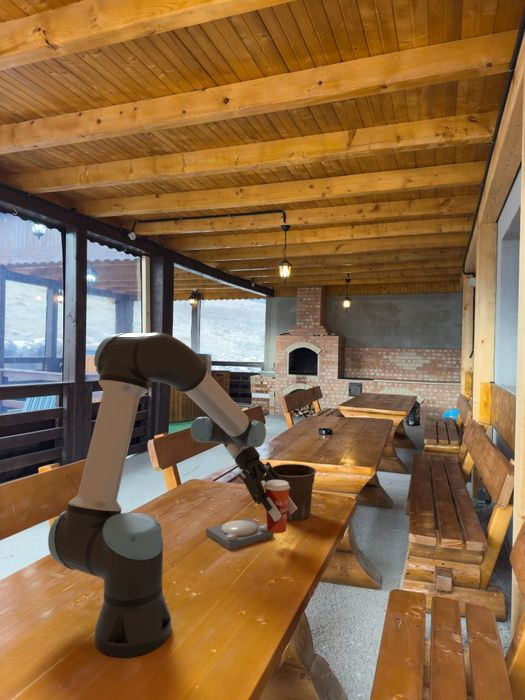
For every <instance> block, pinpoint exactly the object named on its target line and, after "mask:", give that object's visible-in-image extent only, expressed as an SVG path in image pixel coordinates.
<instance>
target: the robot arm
mask: <svg viewBox="0 0 525 700" xmlns="http://www.w3.org/2000/svg"><path fill="white" fill-rule="evenodd" d="M94 353H95V354H94V358H93V362H94V363H93V364H94V367H95V371H96V373H97V374H98V375H99V379H98V384H99V387H101V389H102V394H101V398H100V404H99V408H98V410H97V411H98V412H97V416H96V419H95V423H94V428H93V432H92V435H91V440H90V445H89V448H88V452H87V455H86V460H85V464H84V468H83V471H82V475H81V480H80V483H79V488H78V493H77V494H76V495H75V497H74V498H72V499H70V500H69V501H68V503H67V506H66V510H64V511H62V512H61V513H59V515H58V518H55V519H54V520H53V522H52V524H51V525H50V529H49V532H48V539H47V545H48V546H47V547H48V551H49V553H50V556H51V557H52V558H53V560H55V561H56V562H57V563H58V564H60V565H62V566H64V567H65V568H67V569H69V570H74V571H79V572H81V573H84V574H88V575H91V576H94V577H98V578H100V579H102V580H103V603H102V605H101V609H100V612H99V615H98V618H97V622H96V624H95V628H94V643H95V646H96V649H98V650H99V651H100V652H101V653H103V654H104V655H106V656H111V657H113V658H114V657H115V658H132V657H137V656H142V655H144V654H147V653H149V652H152V651H154V650H156V649H158V648H159V647H161V645H163V644H165V642H166V641H167V640H168V638H169V637H170V636H171V632H172V617H171V614H170V611H169V608H168V605H167V602H166V599H165V596H164V593H163V565H164V564H163V563H164V562H163V560H164V559H163V557H164V556H163V555H164V554H163V551H164V550H163V548H164V542H163V541H164V539H163V532H162V526H161V524H160V522H159V521H158V519H156V518H154V517H153V516H151V515H148V514H145V513H141V512H135V513H133V512H122V509H123V508H122V507H121V505H120V503H119V502H118V496H119V492H120V488H121V483H122V480H123V475H124V474H123V473H124V469H125V465H126V460H127V456H128V451H129V447H130V444H131V440H132V439H131V438H132V433H133V429H134V425H135V421H136V416H137V411H138V406H139V404H140V403H139V402H140V398H142V397H143V396H144V395H146V394H147V393H148V392H149V389H150V388H149V387H150V383H163V384H166V385H169V386H170V387H172V388H173V389H175V391H177V392H179V393H183V394H185V395H187V396H188V398H190V399H191V400H192V401H193V402H194V403H195V404H196V405H197V407H199V408H200V409H201V410H202V411H203V412H204V413H205V414H207V416H200V417H196V418H195V419H194V420H193V421H192V422H191V424H190V435H191V436H190V437H192V439H193V440H194V441H195V442H197V443H203V444H204V443H205V444H207V443H213V444H214V443H215V444H223V446H224V447H225V449H226V450H227V452H228V453H229V454H230V456H231V458H232V459H234V462H235V464H236V465H237V467H238V468H239V469H240V473H239V474H238V476H239V478H240V479H241V480H242V482H243V483H244V485H245V487H246V489H247V490H248V493H249V494H250V496H251V498H252V500H253V502H254V503H256V504H258V505H260V504H262V506H263V507H264V509H265V511H266V510H267V511H268V512H269V514H270V515H271V517H272V518H273V520H274V521H275V522H276V521H277V520H278V519H279V518H281V517H282V515H281V514H280V512H279V511H278V509H277V508H276V506H275V505H274V503H273V502H272V500H271V499H270V497H268V498H267V499H266V494H265V488H264V486H263V483H262V481H264V482H265V483H266V482H267V481H269V480H282V478H281V477H280V476H279V475H278V474H277V473H276V471H275V470H274V469H273V468H272V467H273V466H272V465H271V463H270V461H267V462H266V463H263V461H261V460H260V457H261V455H260V453H259V452H258V450H257V448H259V447H262V445H263V444H264V442H265V439H266V436H267V429H266V426H265V425H266V424H264V423H263V422H262V421H259V420H256V419H250V417H249V416H248V415H247V414H246V413H245V412H244V410H242V409H241V407H240V406H239V405H238V404H237V403H236V402H235V401H234V400H233V398H232V397H231V396H230V395H229V394H228V392H226V391H225V390H224V388H223V387H222V386H221V385H220V384H219V383H218V382H217V380H215V379H214V377H213V376H212V375H211V374H210V373H209V371H208V366H207V364H206V362H205V361H204V360H203V358H201V356H200V355H199V354H197V353H196V351H195V350H193V349H192V348H191V347H190V346H188V344H186V343H184V342H183V341H181V340H180V339H178V338H176V337H175V336H171V335H170V334H167V333H163V332H158V331H157V332H156V331H155V332H137V333H136V332H121V333H117V334H111V335H109V336H108V337H105V338H104V339H103V340H102V341H101V342H100V344H99V345H98V346H97V347H96V351H95V352H94ZM296 509H298V508H297V507H296V505H295V504H294V503H293V501H292V500H291V498H290V497H289V495H288V511H289V512H290V514H292V513H293V512H294V511H295V510H296Z"/></svg>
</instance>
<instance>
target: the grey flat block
mask: <svg viewBox="0 0 525 700" xmlns="http://www.w3.org/2000/svg"><path fill="white" fill-rule="evenodd" d="M205 535H206V536H208V537H209V538H210V539H212V540H214V541H215V542H216V543H218V544H219V545H221V546H222V547H225V549H227V550H229V551H231V550H234V549H237V548H240V547H244V546H247V545H250V544H254V543H256V542H261V541H264V540H267V539H271V538H274V533H271V532H269V531H268V530H267V524H261V523H260V522H258V521H255V520H254V519H252V518H250V517H244V518H239V519H236V520H232V521H227V522H226V523H222V524H221V523H220V524H216V525H213V526H209V527H206V528H205Z"/></svg>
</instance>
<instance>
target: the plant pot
mask: <svg viewBox="0 0 525 700" xmlns="http://www.w3.org/2000/svg"><path fill="white" fill-rule="evenodd" d="M272 468H273V469H274V470H275V471H276V473H277V474H278V475H279V476H280V477H281V478H282V480H284V481H287V482H288V483H289V486H290V488H289V497H290V498H291V500H292V501H293V503H294V504H295V505H296V507H297V508H298V509H296V510H295V511H294V512H293V513H292V514H290V512H289V511H288V510H287V520H288V521H289V522H299V521H303V520H307V519H309V518H310V517H311V511H312V510H311V508H312V499H313V498H312V497H313V488H314V487H313V486H314V483H315V477H316V476H315V475H316V473H317V469H316V468H314V467H312V466H309V465H306V464H300V463H299V464H298V463H287V464H286V463H283V464H277V465H274V466H272ZM288 521H287V522H288Z"/></svg>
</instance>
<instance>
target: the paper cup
mask: <svg viewBox="0 0 525 700" xmlns="http://www.w3.org/2000/svg"><path fill="white" fill-rule="evenodd" d="M263 488H264V491H265V494H266V499H267V498H268V497H270V499H271V500H272V502H273V503H274V505H275V506H276V508H277V509H278V511H279V512H280V514H281V515H282V517H281V518H279V519H278V520H277V521H276V522H275V521H274V520H273V518H272V517H271V515H270V514H269V512H268V511H267V510H266V509H265V514H266V525H267V530H268V531H269V532H271V533H273V534H282V533H285V532H286V531H287V530H286V529H287V524H288V523H287V522H288V521H287V510H288V495H289V488H290V486H289V483H288V482H287V481H284V480H269V481H267V482H265V485H264V486H263Z"/></svg>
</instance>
